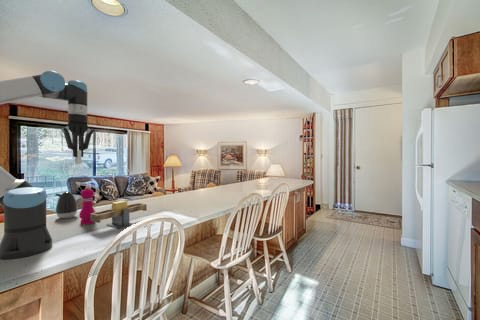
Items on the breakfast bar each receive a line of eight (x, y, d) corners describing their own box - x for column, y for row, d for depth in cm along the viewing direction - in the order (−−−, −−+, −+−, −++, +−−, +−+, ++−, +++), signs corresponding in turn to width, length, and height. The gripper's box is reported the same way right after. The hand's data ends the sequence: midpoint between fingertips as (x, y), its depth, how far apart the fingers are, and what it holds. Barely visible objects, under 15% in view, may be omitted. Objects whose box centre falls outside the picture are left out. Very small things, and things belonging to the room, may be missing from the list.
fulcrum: (119, 229, 110) (119, 211, 110) (106, 225, 116) (106, 208, 116) (134, 224, 117) (134, 207, 117) (121, 221, 123) (121, 205, 123)
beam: (97, 222, 104) (97, 215, 104) (90, 220, 107) (90, 213, 107) (146, 210, 126) (146, 204, 126) (138, 208, 130) (138, 202, 130)
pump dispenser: (58, 216, 133) (58, 191, 133) (79, 214, 138) (79, 190, 137) (52, 220, 124) (52, 193, 124) (75, 218, 128) (75, 192, 128)
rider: (116, 212, 113) (116, 203, 113) (111, 211, 115) (111, 202, 115) (127, 209, 118) (127, 201, 118) (123, 208, 120) (122, 200, 120)
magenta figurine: (82, 225, 115) (82, 187, 115) (77, 223, 120) (77, 186, 120) (97, 222, 121) (97, 185, 121) (92, 220, 126) (92, 184, 125)
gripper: (65, 111, 99) (65, 164, 99) (96, 116, 110) (96, 163, 110) (57, 113, 103) (58, 164, 103) (88, 117, 114) (89, 163, 114)
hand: (78, 163), depth 107 cm, fingers closed
